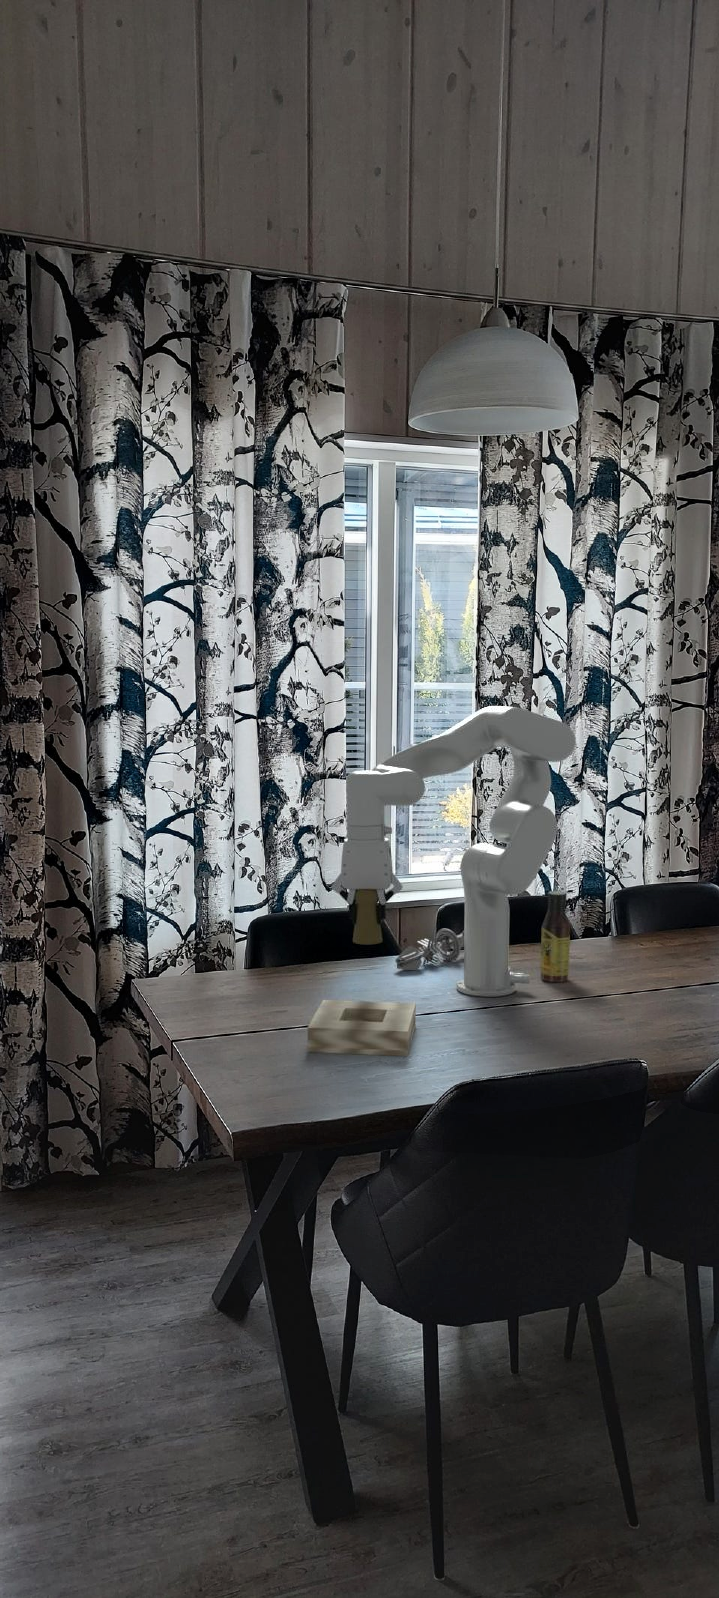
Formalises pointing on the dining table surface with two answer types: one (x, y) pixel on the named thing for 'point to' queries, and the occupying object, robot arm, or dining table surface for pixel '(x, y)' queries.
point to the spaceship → (432, 950)
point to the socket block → (362, 1028)
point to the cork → (367, 918)
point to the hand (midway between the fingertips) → (367, 921)
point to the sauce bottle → (555, 940)
